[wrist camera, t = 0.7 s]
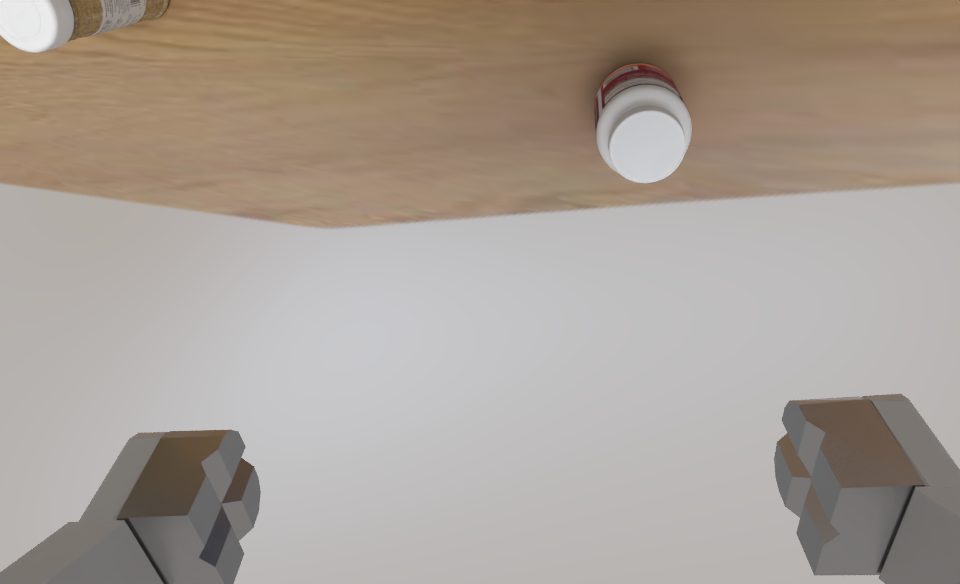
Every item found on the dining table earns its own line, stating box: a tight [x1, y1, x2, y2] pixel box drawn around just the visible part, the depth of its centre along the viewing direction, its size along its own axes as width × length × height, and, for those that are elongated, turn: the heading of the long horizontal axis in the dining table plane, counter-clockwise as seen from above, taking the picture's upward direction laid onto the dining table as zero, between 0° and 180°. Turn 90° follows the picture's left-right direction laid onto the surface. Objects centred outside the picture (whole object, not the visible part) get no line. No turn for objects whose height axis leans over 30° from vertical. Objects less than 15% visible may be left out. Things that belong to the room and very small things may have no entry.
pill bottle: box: [594, 63, 692, 183], centre depth 47 cm, size 6×6×11 cm
